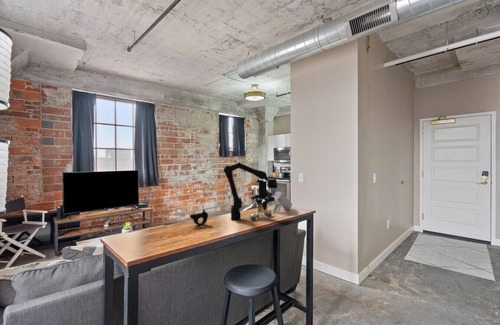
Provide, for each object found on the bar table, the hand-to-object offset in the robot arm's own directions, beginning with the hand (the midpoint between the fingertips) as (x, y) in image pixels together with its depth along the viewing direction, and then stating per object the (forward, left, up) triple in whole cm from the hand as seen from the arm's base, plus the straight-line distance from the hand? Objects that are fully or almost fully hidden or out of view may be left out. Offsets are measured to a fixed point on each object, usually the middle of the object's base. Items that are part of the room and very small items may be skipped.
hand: (262, 209), depth 180 cm
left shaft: (-7, -3, -6) cm, 10 cm away
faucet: (+20, +22, -7) cm, 31 cm away
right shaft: (+5, +6, -6) cm, 10 cm away
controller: (-45, -10, -7) cm, 46 cm away
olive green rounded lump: (0, 0, -1) cm, 1 cm away
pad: (0, 0, -6) cm, 6 cm away
